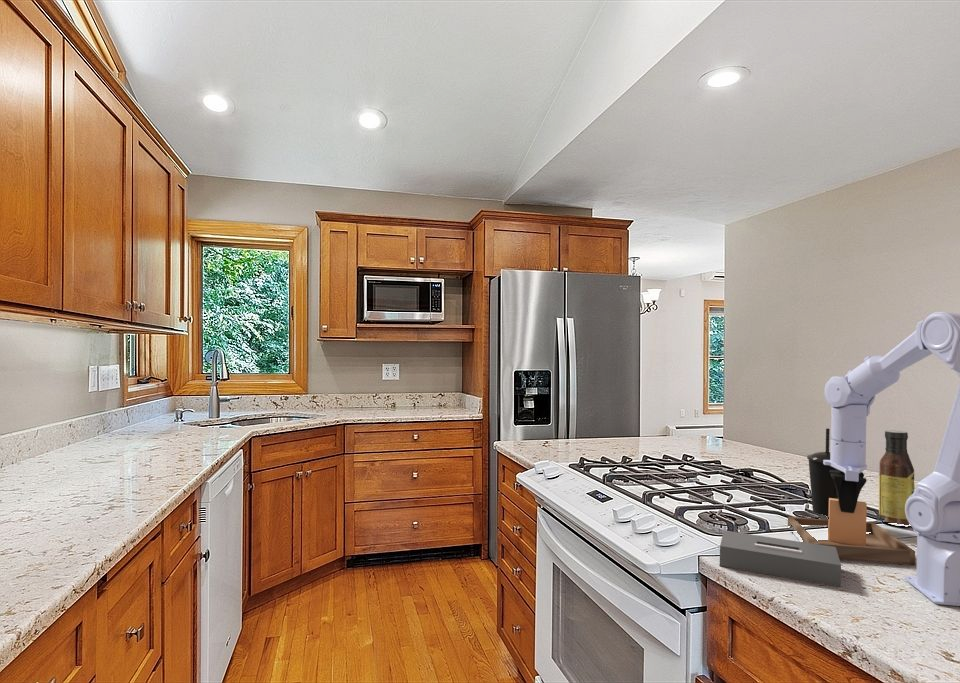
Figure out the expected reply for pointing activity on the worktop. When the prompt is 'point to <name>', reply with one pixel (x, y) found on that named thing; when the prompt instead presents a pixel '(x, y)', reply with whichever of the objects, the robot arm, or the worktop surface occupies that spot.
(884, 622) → the worktop surface
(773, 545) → the dispenser
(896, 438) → the sauce bottle
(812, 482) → the drinking cup
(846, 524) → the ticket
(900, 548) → the tray
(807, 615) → the worktop surface
